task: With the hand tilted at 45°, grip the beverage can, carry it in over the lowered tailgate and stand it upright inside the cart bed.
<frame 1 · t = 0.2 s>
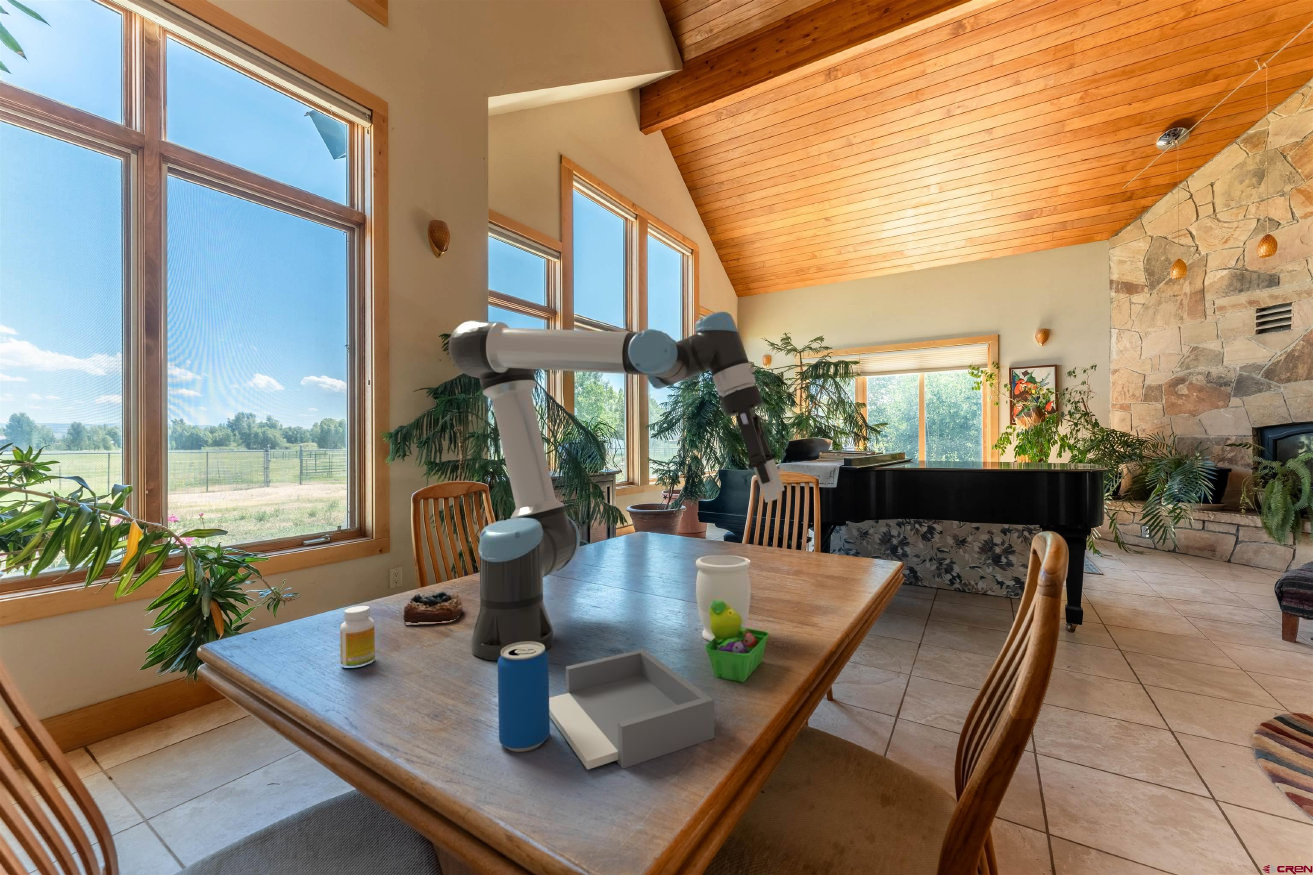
hand: (775, 496, 105), 28 cm above the table, tool tilted 20°, fingers open, 13 cm apart
jar: (724, 637, 108), on the table
fruit basket: (735, 669, 93), on the table
pastry: (434, 619, 123), on the table
beverage can: (524, 742, 72), on the table
supplement bottle: (358, 664, 98), on the table
cart bed: (631, 718, 77), on the table
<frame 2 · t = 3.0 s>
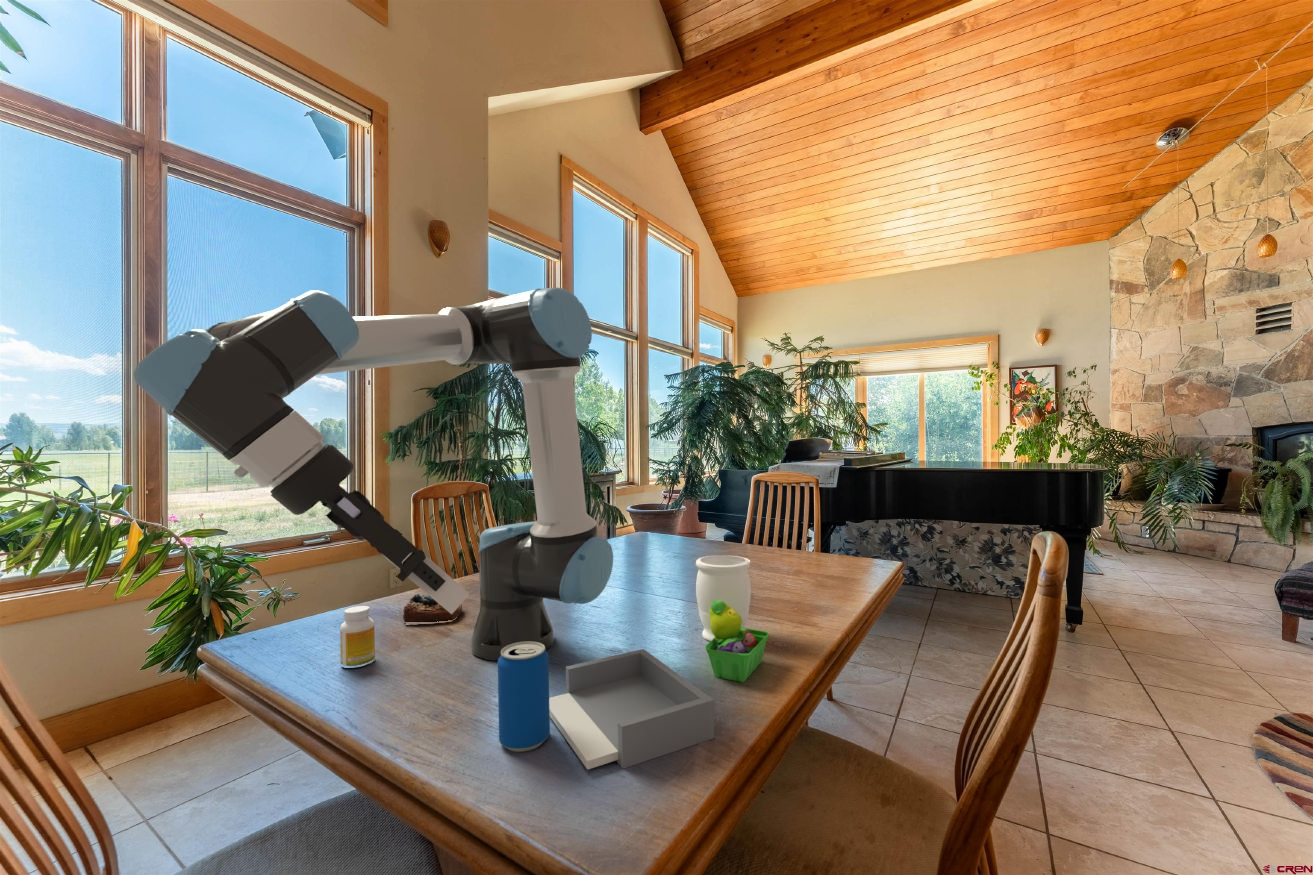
hand: (444, 590, 66), 21 cm above the table, tool tilted 45°, fingers open, 13 cm apart
nothing on the table moved.
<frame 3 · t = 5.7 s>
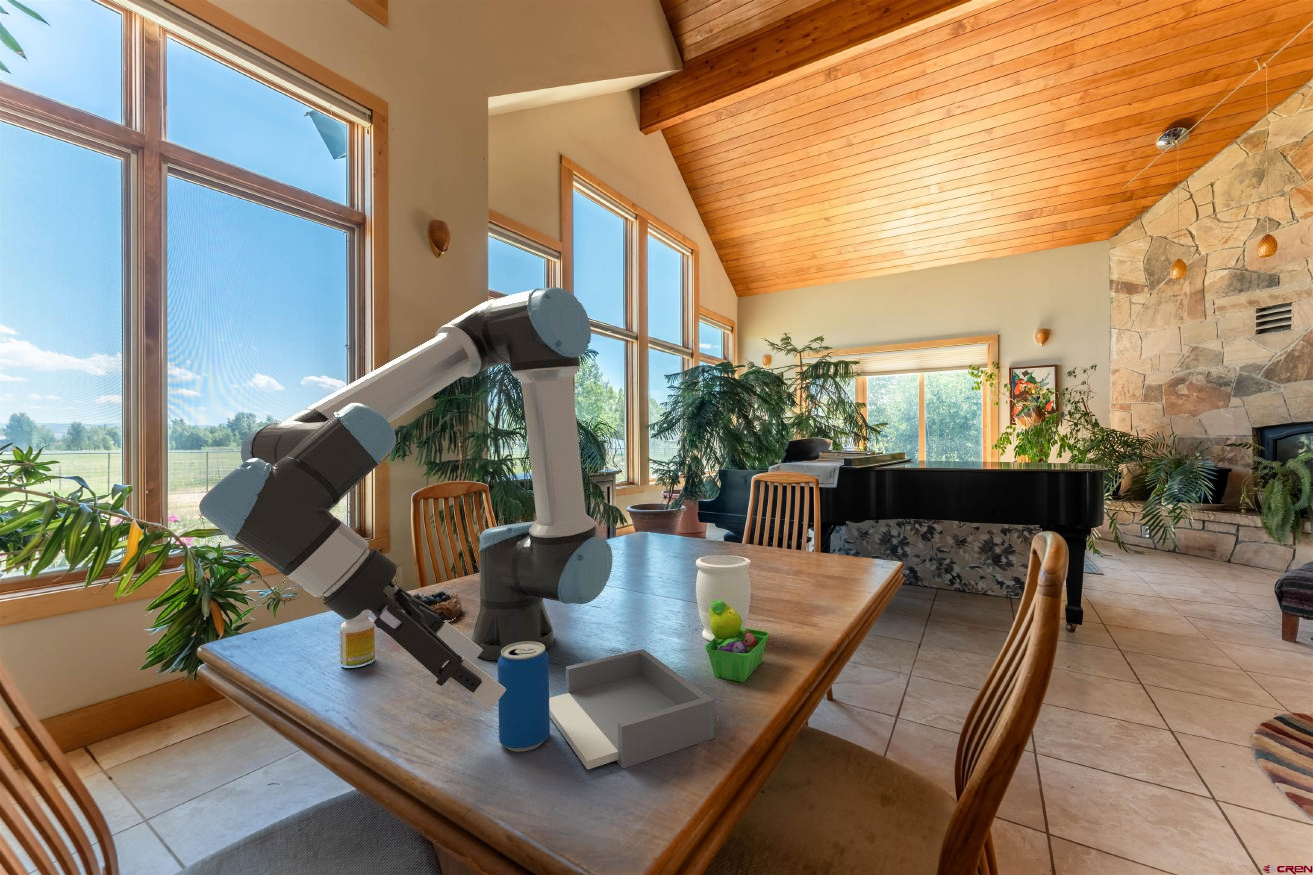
hand: (485, 676, 69), 10 cm above the table, tool tilted 45°, fingers open, 13 cm apart
nothing on the table moved.
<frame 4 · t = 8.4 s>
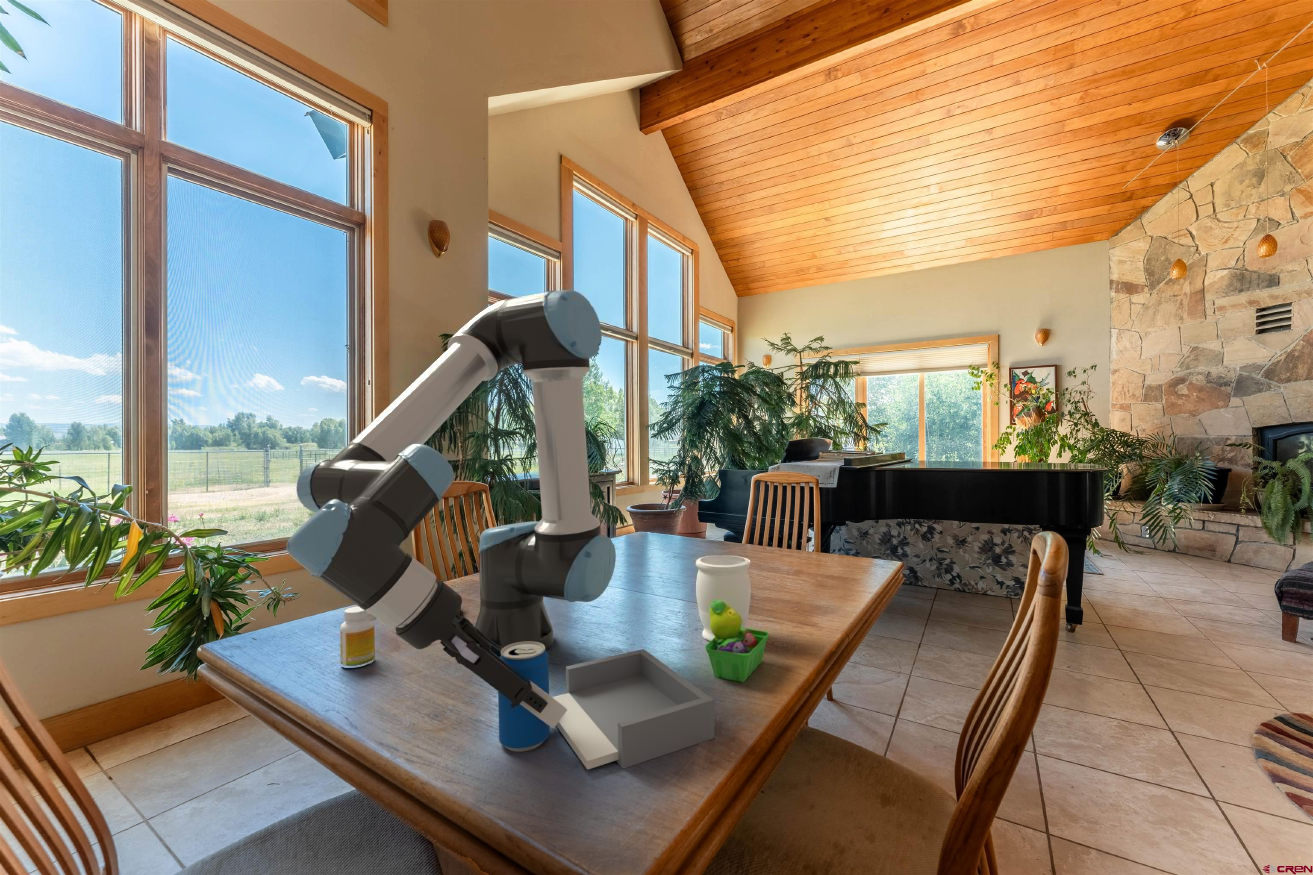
hand: (550, 705, 74), 4 cm above the table, tool tilted 45°, fingers closed on beverage can, 6 cm apart
beverage can: (524, 742, 72), on the table, touching gripper
everything else where it was.
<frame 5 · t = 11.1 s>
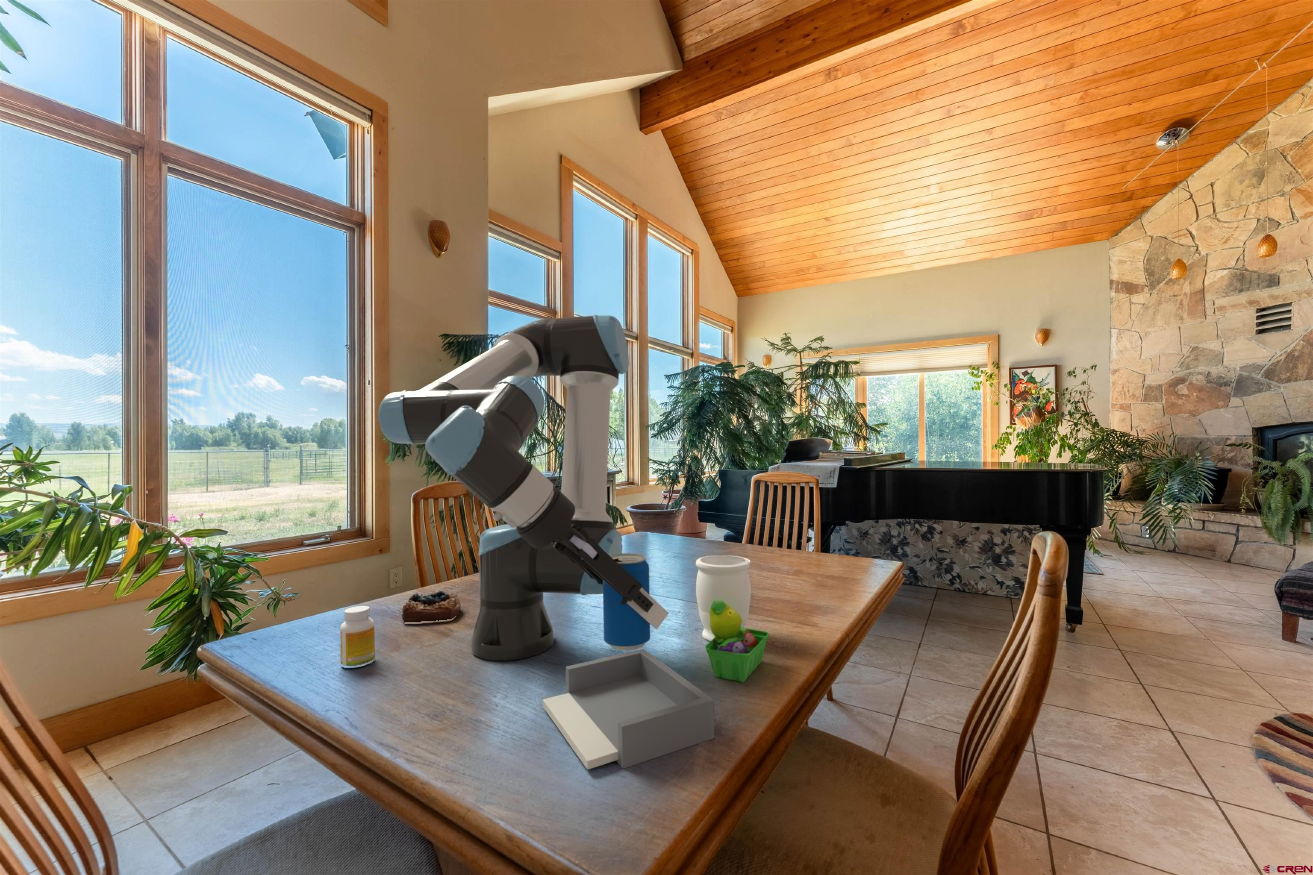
hand: (649, 612, 79), 14 cm above the table, tool tilted 45°, fingers closed on beverage can, 6 cm apart
beverage can: (627, 644, 77), point 10 cm above the table, touching gripper
everything else where it was.
when the fingers open (7 cm above the table, at t = 13.7 s): beverage can drops 1 cm, resting on cart bed.
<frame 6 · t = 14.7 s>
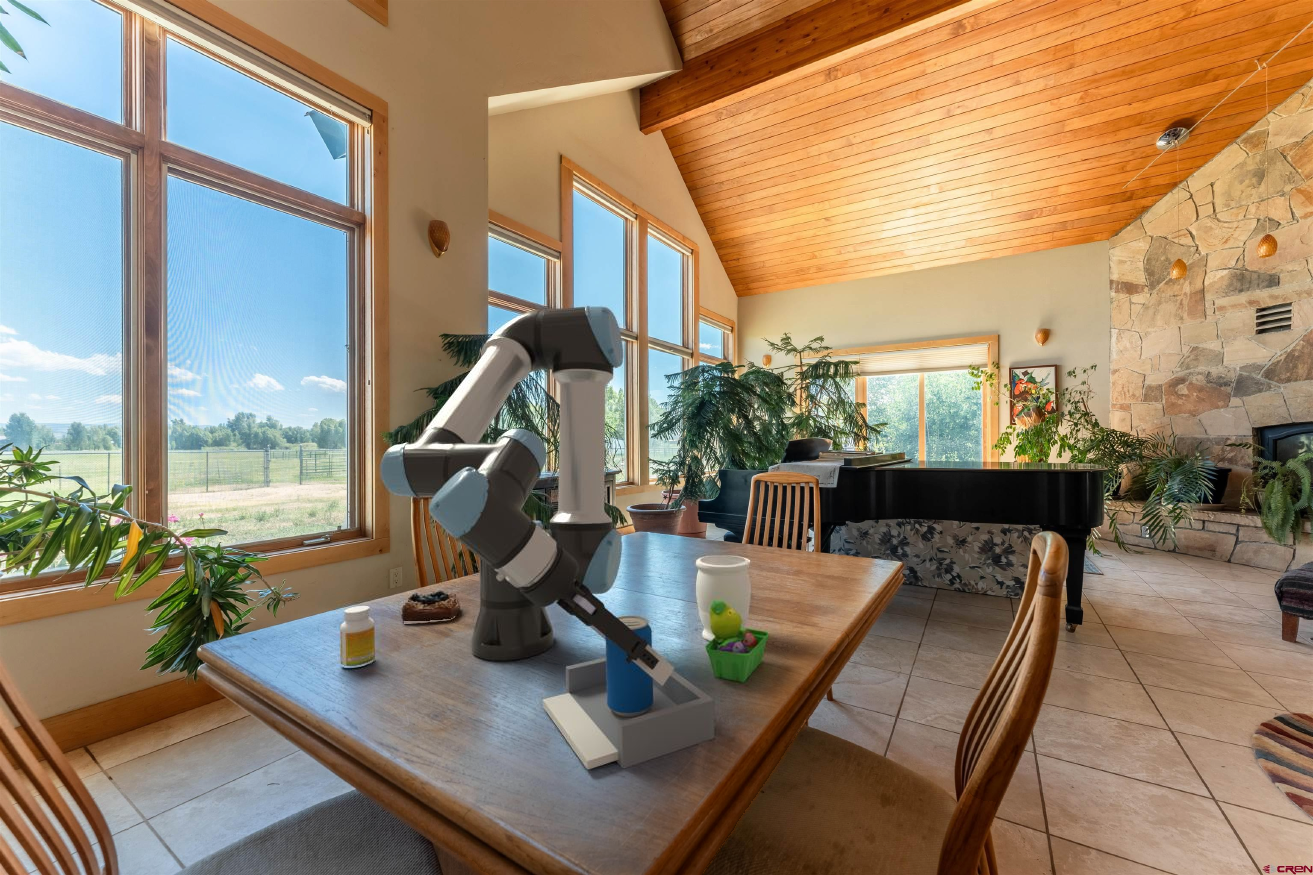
hand: (643, 658, 78), 8 cm above the table, tool tilted 45°, fingers open, 13 cm apart
beverage can: (630, 709, 77), point 1 cm above the table, touching cart bed
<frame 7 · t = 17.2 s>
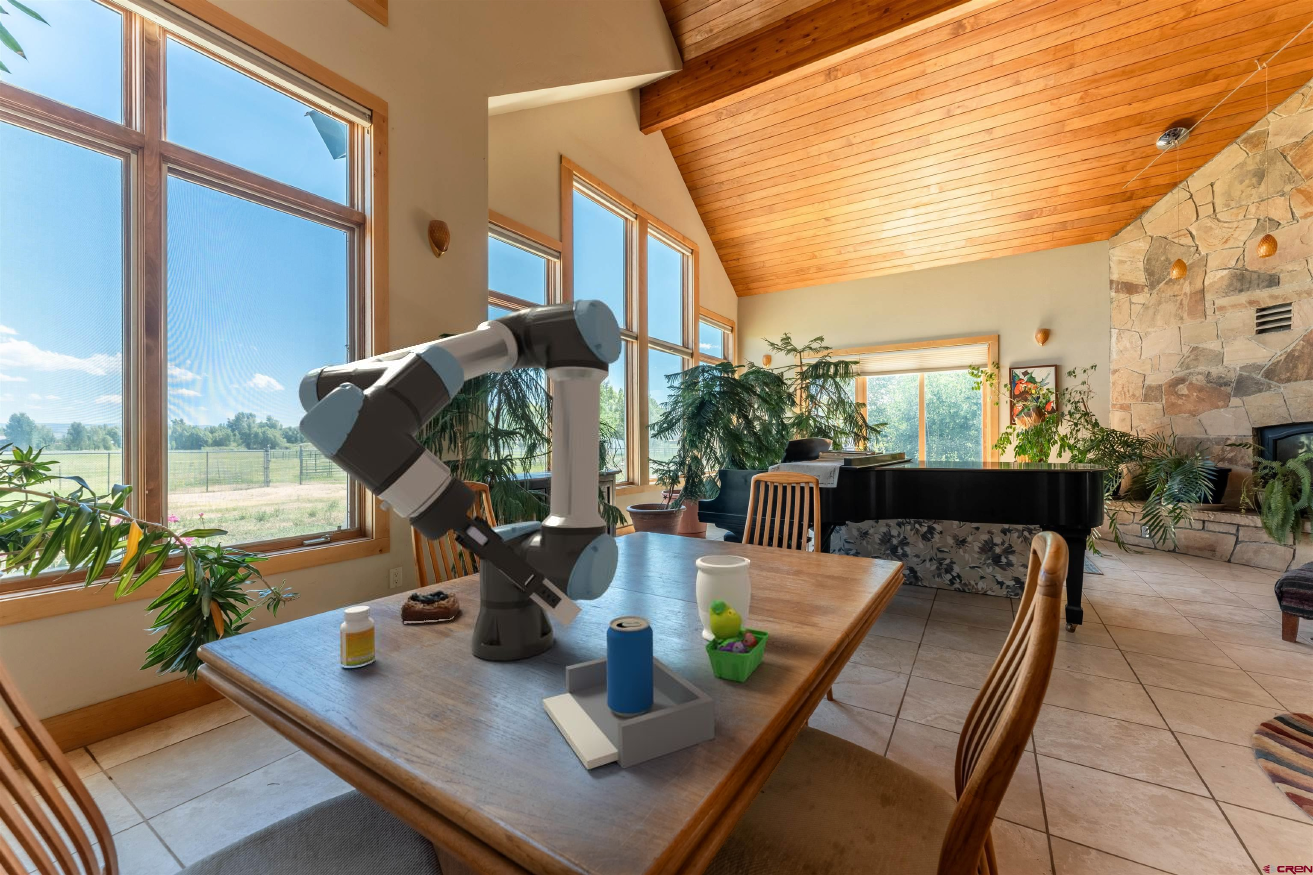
hand: (555, 603, 72), 18 cm above the table, tool tilted 45°, fingers open, 13 cm apart
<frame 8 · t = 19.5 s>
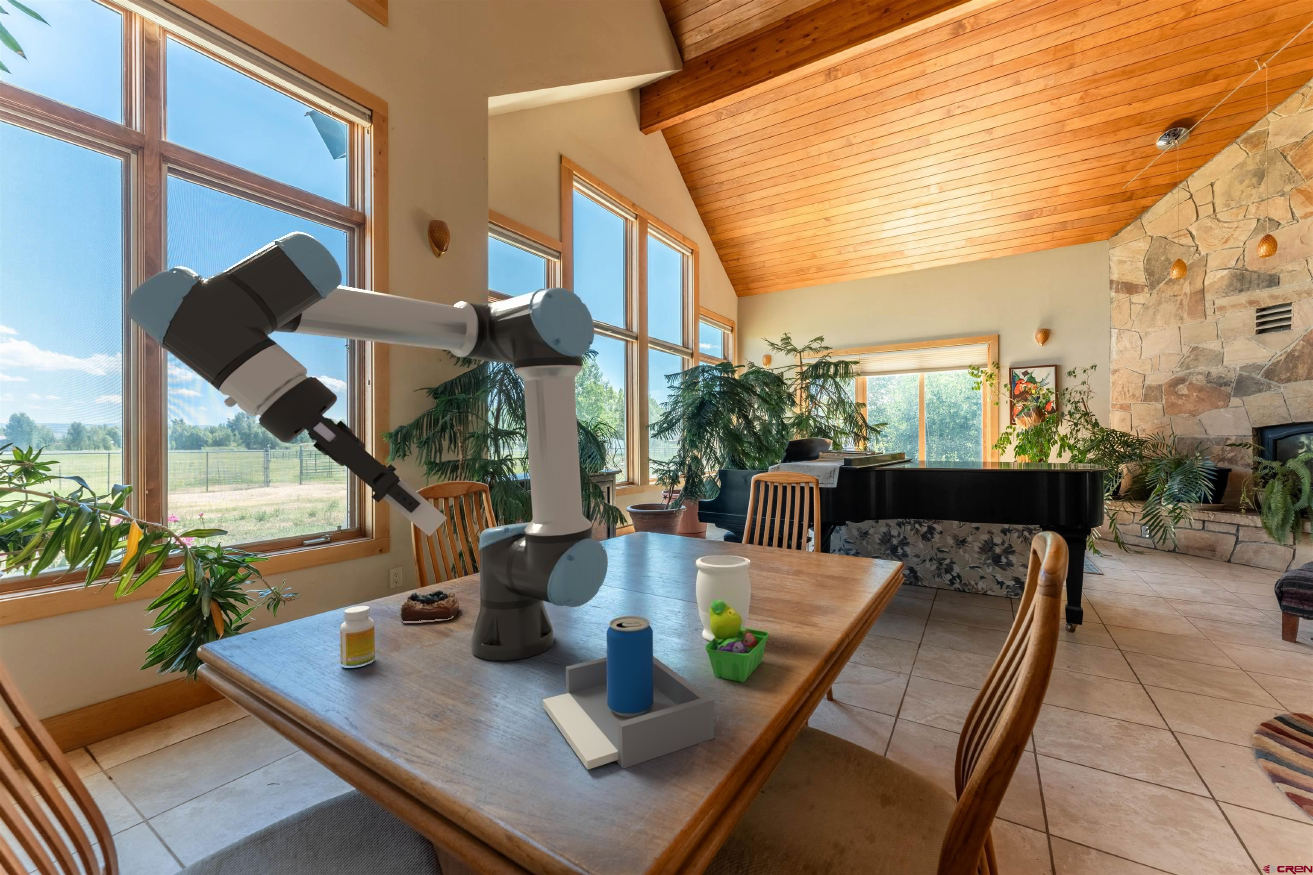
hand: (431, 519, 69), 30 cm above the table, tool tilted 45°, fingers open, 13 cm apart
at the end: beverage can inside the target area on the cart bed (0.1 cm from its centre), point 1.3 cm above the cart bed's base; beverage can tilted 0°; the gripper is holding nothing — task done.
